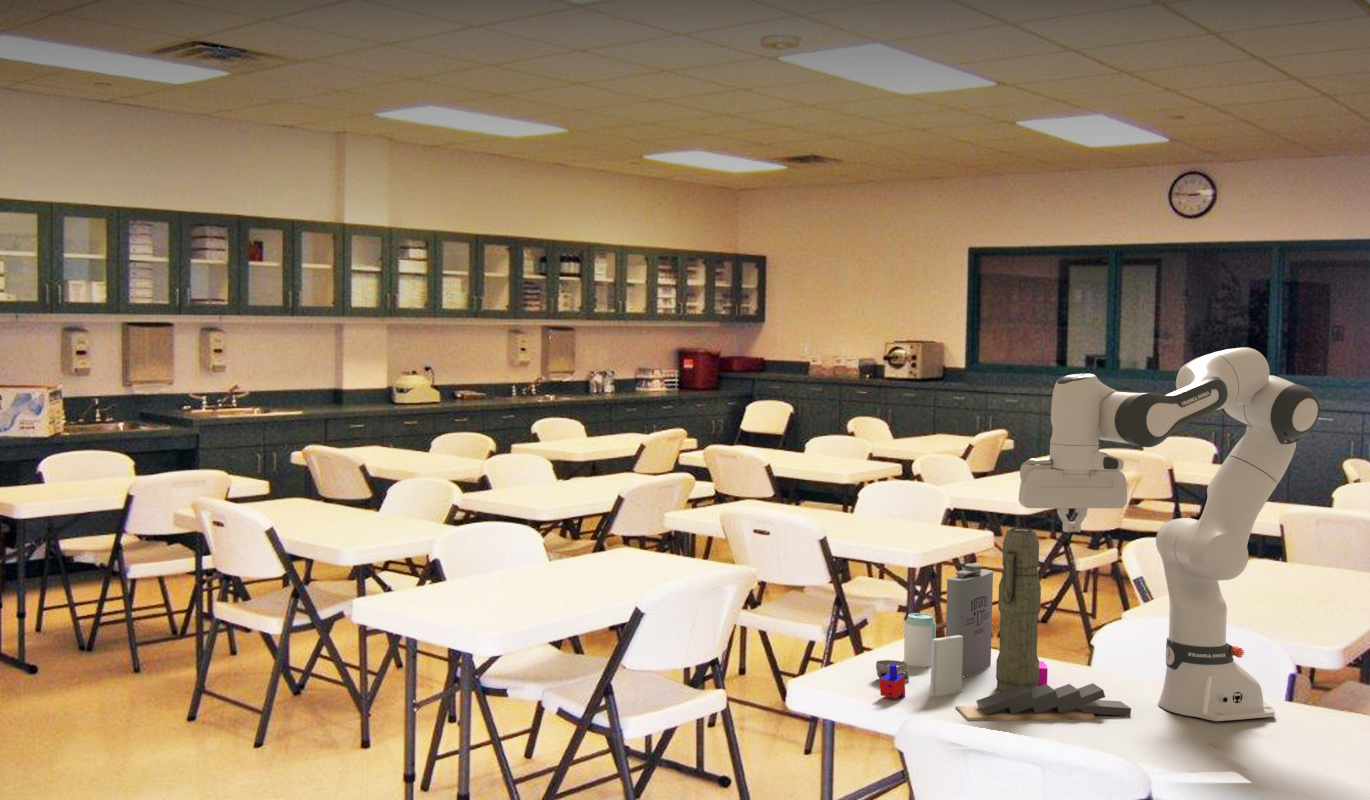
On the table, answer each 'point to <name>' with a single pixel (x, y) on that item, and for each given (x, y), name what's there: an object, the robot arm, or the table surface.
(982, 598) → the flask
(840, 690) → the table surface
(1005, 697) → the tile
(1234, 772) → the table surface
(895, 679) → the toy building block
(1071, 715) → the oak board
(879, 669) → the dental mold
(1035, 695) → the tile
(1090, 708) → the tile
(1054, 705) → the tile
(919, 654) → the can
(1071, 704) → the tile
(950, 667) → the external hard drive
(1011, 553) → the thermos
